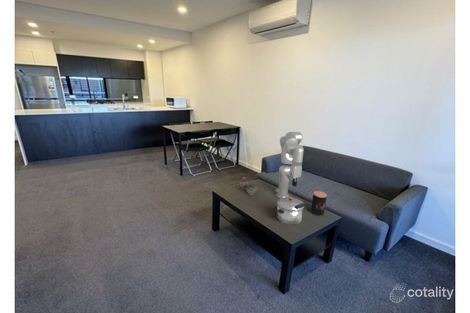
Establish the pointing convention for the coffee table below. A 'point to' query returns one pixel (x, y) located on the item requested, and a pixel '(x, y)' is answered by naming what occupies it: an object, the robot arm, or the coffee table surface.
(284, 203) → the cooker lid
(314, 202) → the coffee jar
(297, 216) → the cooker pot
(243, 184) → the pottery
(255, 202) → the coffee table surface
